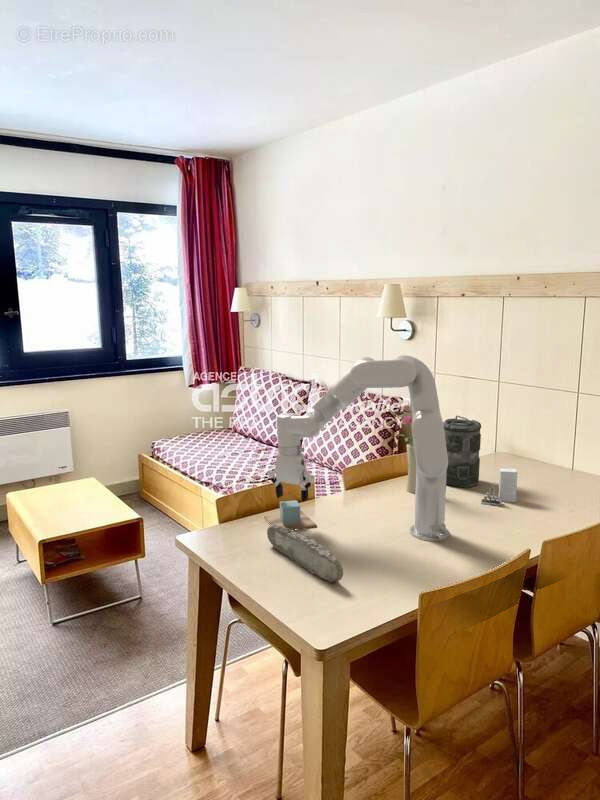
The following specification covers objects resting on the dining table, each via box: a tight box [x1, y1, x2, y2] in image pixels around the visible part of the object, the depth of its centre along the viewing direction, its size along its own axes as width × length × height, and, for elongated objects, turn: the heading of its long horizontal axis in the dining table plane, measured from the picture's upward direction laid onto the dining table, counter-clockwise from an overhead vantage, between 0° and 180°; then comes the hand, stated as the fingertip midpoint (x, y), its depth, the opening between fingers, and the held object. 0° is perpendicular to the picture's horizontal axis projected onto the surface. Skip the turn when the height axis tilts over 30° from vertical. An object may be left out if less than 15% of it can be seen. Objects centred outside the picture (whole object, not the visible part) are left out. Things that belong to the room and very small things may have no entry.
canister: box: [443, 414, 482, 489], centre depth 241 cm, size 16×16×28 cm
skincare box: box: [497, 468, 518, 503], centre depth 221 cm, size 6×4×12 cm
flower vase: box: [393, 404, 416, 494], centre depth 228 cm, size 12×12×35 cm
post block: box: [263, 510, 318, 531], centre depth 200 cm, size 14×14×6 cm
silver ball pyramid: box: [480, 484, 503, 507], centre depth 219 cm, size 9×9×8 cm
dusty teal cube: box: [279, 499, 301, 525], centre depth 200 cm, size 6×6×6 cm
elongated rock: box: [266, 525, 344, 584], centre depth 169 cm, size 35×5×10 cm, turn 38°
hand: (292, 498), depth 199 cm, fingers open, 9 cm apart
